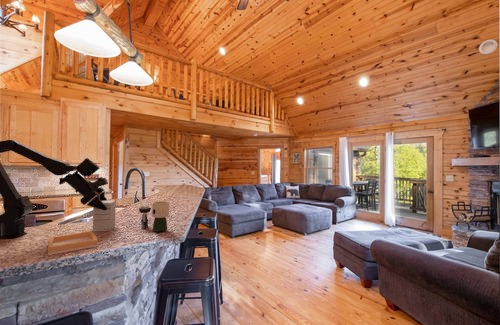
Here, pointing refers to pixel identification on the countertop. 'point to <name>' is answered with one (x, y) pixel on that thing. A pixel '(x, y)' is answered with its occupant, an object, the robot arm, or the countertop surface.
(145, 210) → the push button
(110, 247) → the countertop surface
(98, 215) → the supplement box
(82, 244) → the shallow wooden tray
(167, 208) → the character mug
